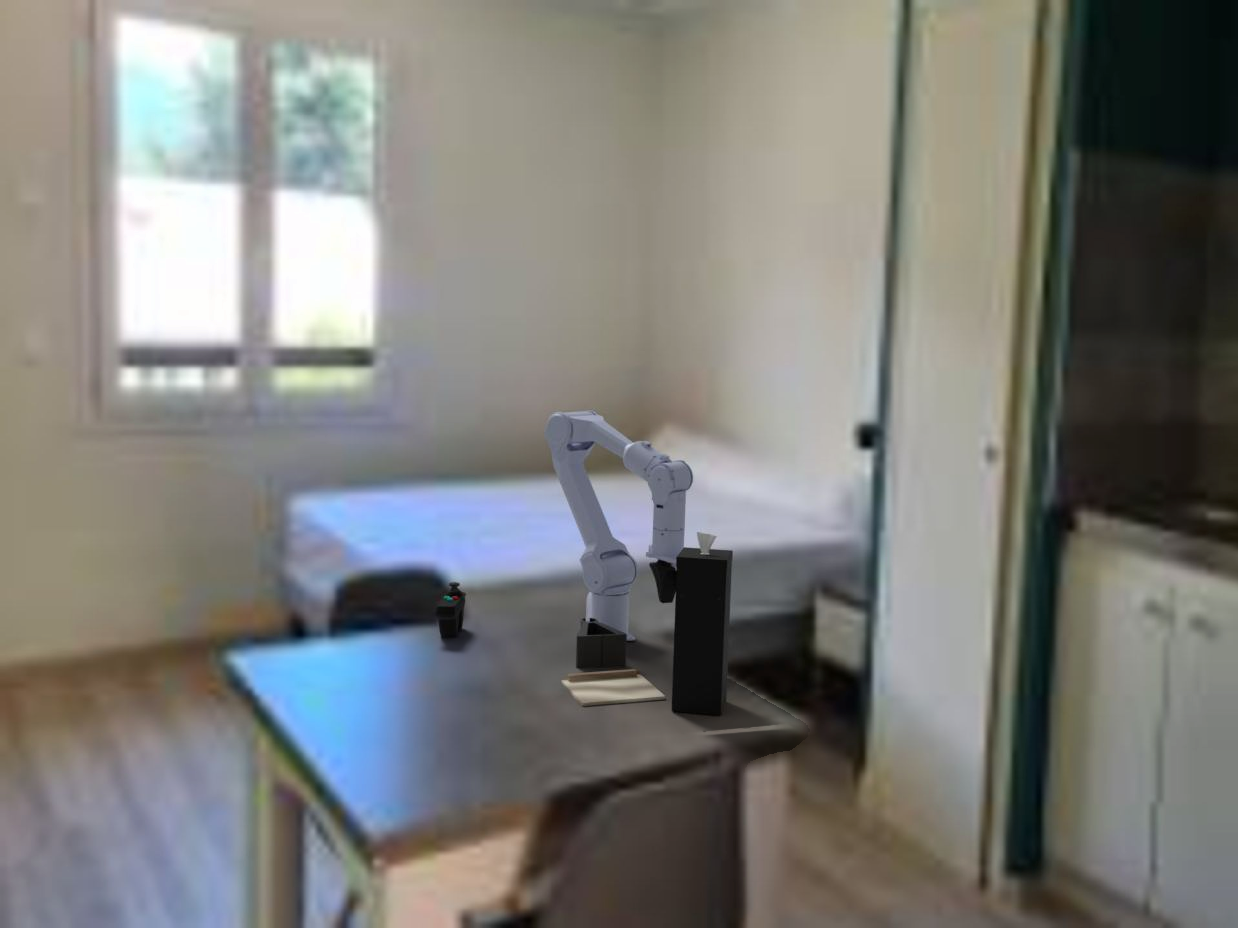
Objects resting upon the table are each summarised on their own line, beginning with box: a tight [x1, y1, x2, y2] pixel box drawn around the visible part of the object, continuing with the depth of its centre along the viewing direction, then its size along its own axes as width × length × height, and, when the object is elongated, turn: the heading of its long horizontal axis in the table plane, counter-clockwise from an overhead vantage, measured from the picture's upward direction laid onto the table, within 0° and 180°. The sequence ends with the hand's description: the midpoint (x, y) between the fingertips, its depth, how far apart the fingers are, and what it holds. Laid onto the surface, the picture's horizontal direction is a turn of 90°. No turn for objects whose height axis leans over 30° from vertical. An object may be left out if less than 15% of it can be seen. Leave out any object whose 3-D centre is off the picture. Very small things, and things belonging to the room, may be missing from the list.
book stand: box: [561, 668, 666, 707], centre depth 193 cm, size 12×14×2 cm
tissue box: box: [671, 531, 734, 716], centre depth 185 cm, size 8×8×28 cm
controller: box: [434, 581, 467, 638], centre depth 220 cm, size 4×12×10 cm, turn 177°
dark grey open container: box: [575, 617, 628, 669], centre depth 211 cm, size 9×6×12 cm
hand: (666, 602), depth 213 cm, fingers closed
